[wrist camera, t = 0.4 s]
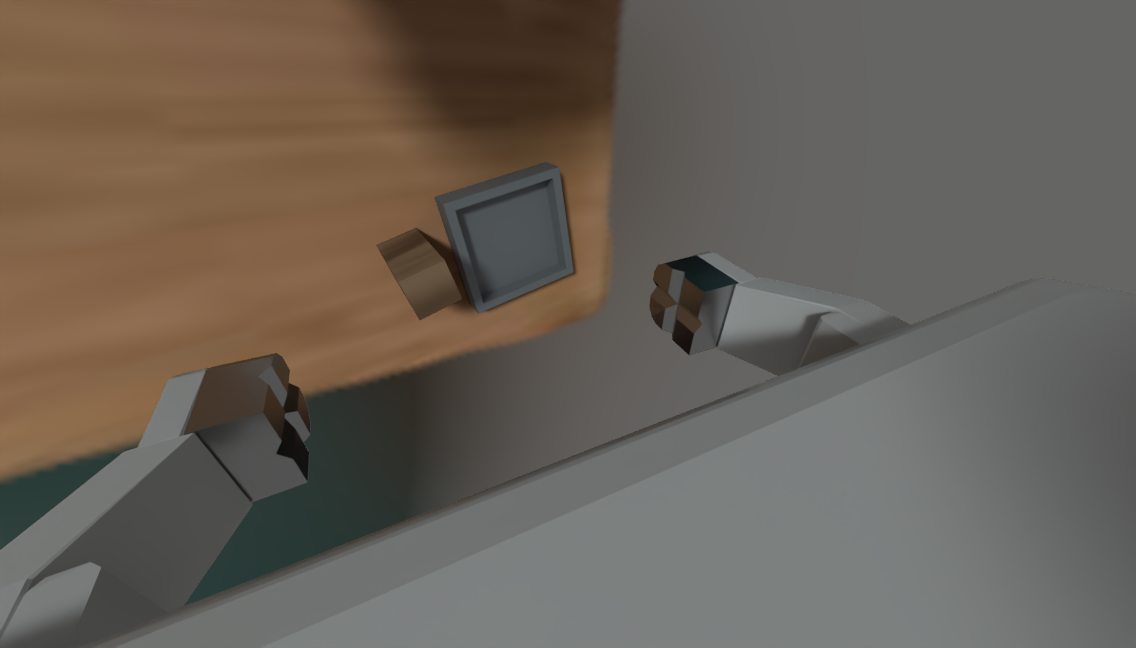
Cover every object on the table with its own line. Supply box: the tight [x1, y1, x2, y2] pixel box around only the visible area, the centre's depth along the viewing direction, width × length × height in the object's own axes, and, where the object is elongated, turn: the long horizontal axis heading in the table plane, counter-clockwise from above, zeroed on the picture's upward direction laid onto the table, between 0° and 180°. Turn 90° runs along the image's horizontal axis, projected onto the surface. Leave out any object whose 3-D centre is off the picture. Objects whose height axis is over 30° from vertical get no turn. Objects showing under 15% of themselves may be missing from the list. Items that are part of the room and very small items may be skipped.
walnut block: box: [376, 228, 462, 320], centre depth 42 cm, size 4×4×10 cm
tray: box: [435, 162, 574, 314], centre depth 50 cm, size 14×14×3 cm
